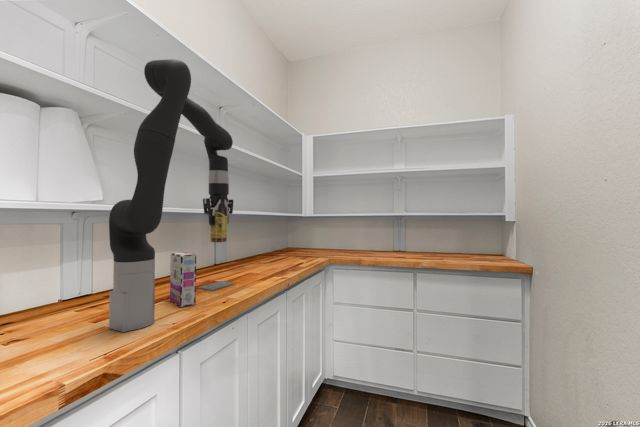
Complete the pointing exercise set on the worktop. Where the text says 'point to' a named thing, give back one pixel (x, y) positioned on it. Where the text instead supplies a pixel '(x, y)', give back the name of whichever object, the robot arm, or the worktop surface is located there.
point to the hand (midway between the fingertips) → (219, 224)
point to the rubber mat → (216, 286)
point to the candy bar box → (183, 279)
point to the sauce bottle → (220, 222)
